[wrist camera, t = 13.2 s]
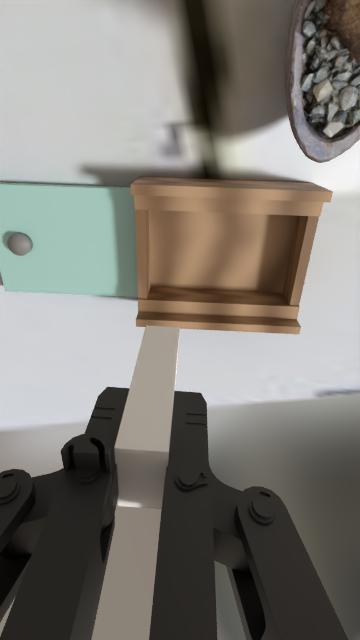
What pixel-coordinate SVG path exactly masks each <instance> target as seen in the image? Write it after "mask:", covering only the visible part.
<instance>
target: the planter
mask: <svg viewBox="0 0 360 640" xmlns="http://www.w3.org/2000/svg"><path fill="white" fill-rule="evenodd" d="M285 88H286V100H287V109H288V115H289V120H290V125H291V129H292V132H293V135H294V137H295V139H296V141H297V143H298V145H299V147H300V148H301V150H302V151H303V153H304V154H305V156H307V157H308V158H309V159H311V160H313V161H315V162H318V163H322V162H326V161H330V160H331V159H333V158H335V157H337V156H339V155H341V154H342V153H344V152H345V151H346V150H348V149H349V148H351V147H352V146H353V145H354V144H355V143H356V142H357V141H358V140H359V139H360V0H296V1H295V5H294V9H293V14H292V19H291V25H290V30H289V37H288V45H287V52H286V68H285Z"/></svg>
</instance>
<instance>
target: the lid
mask: <svg viewBox="0 0 360 640" xmlns="http://www.w3.org/2000/svg"><path fill="white" fill-rule="evenodd" d="M0 273H1V277H2V281H3V285H4V289H5V291H11V292H34V293H56V294H79V295H101V296H123V297H138V275H137V248H136V220H135V207H134V195H131V187H112V186H85V185H59V184H33V183H7V182H0Z"/></svg>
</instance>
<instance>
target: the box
mask: <svg viewBox="0 0 360 640" xmlns="http://www.w3.org/2000/svg"><path fill="white" fill-rule="evenodd" d="M130 186H131V195H134V207H135V220H136V248H137V275H138V315H137V318H136V326H138V327H146V325H148V326H162V327H176V328H180V329H201V330H222V331H244V332H265V333H286V334H299V332H300V328H301V327H300V325H299V323H298V321H297V316H298V311H299V303H300V298H301V294H302V289H303V285H304V280H305V276H306V272H307V267H308V263H309V258H310V254H311V249H312V245H313V240H314V236H315V232H316V227H317V223H318V218H319V216H320V214H321V210H322V206H323V202H330V201H331V197H332V193H333V192H332V191H330V190H328V189H325V188H323V187H321V186H318V185H316V184H314V183H307V182H279V181H251V180H223V179H195V178H166V177H139V178H138V179H137V180H135V181H134V182H133V183H132V184H130Z"/></svg>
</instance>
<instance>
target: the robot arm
mask: <svg viewBox="0 0 360 640" xmlns="http://www.w3.org/2000/svg"><path fill="white" fill-rule="evenodd" d="M179 329H180V328H176V327H162V326H148V325H146V327H145V331H144V335H143V339H142V343H141V347H140V351H139V354H138V358H137V362H136V366H135V370H134V374H133V378H132V382H131V385H130V389H129V388H116V387H107V388H106V389H105V390H104V391H103V392H102V393H101V394H100V395H99V396H98V399H97V401H96V404H95V407H94V409H93V412H92V415H91V418H90V420H89V423H88V426H87V429H86V431H85V434H81V435H79V436H76V437H74V438H72V439H71V440H70V441H68V442H67V443H66V444H65V445H64V447H63V448H62V450H61V455H62V461H63V466H64V468H62V469H61V470H59V471H56V472H53V473H50V474H46V475H42V476H37V477H32V478H31V476H30V474H29V473H27V472H25V471H24V470H19V469H11V470H7V471H3V472H1V473H0V622H1V620H2V618H3V617H4V615H5V613H6V612H7V610H8V608H9V607H10V605H11V603H12V602H13V600H14V598H15V600H14V603H13V605H12V608H11V611H10V613H9V616H8V618H7V621H6V624H5V626H4V629H3V631H2V634H1V637H0V640H91V639H92V634H93V629H94V624H95V619H96V614H97V609H98V604H99V600H100V595H101V590H102V585H103V580H104V575H105V570H106V565H107V560H108V555H109V551H110V546H111V541H112V536H113V531H114V526H115V514H114V513H115V509H116V504H117V499H118V506H127V507H141V508H155V509H162V511H161V522H160V533H159V543H158V553H157V564H156V575H155V584H154V595H153V606H152V616H151V626H150V637H149V640H217V622H216V596H215V594H216V593H215V568H214V560H215V561H217V562H219V563H221V564H224V565H226V567H227V570H228V574H229V578H230V581H231V585H232V589H233V592H234V596H235V600H236V603H237V607H238V611H239V614H240V618H241V622H242V625H243V629H244V632H245V636H246V640H348V638H347V636H346V634H345V632H344V630H343V627H342V625H341V623H340V621H339V619H338V617H337V615H336V613H335V610H334V608H333V606H332V604H331V602H330V600H329V598H328V596H327V594H326V591H325V589H324V587H323V585H322V583H321V581H320V578H319V576H318V574H317V572H316V570H315V568H314V566H313V564H312V561H311V559H310V557H309V555H308V553H307V551H306V549H305V547H304V544H303V542H302V540H301V538H300V536H299V534H298V532H297V530H296V528H295V525H294V523H293V521H292V519H291V517H290V515H289V513H288V510H287V508H286V506H285V505H284V503H283V502H282V500H281V499H280V497H279V496H277V495H276V494H275V493H274V492H273V491H271V490H269V489H266V488H264V487H254V486H253V487H250V488H247V489H245V490H244V491H243V492H242V491H240V490H237V489H235V488H232V487H230V486H227V485H226V484H224V483H222V482H221V481H220V480H218V479H217V478H216V477H215V475H214V474H213V473H212V471H211V469H210V467H209V461H208V434H207V403H206V401H205V400H204V398H203V396H202V394H201V393H196V392H182V391H175V387H176V376H177V360H178V344H179Z"/></svg>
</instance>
